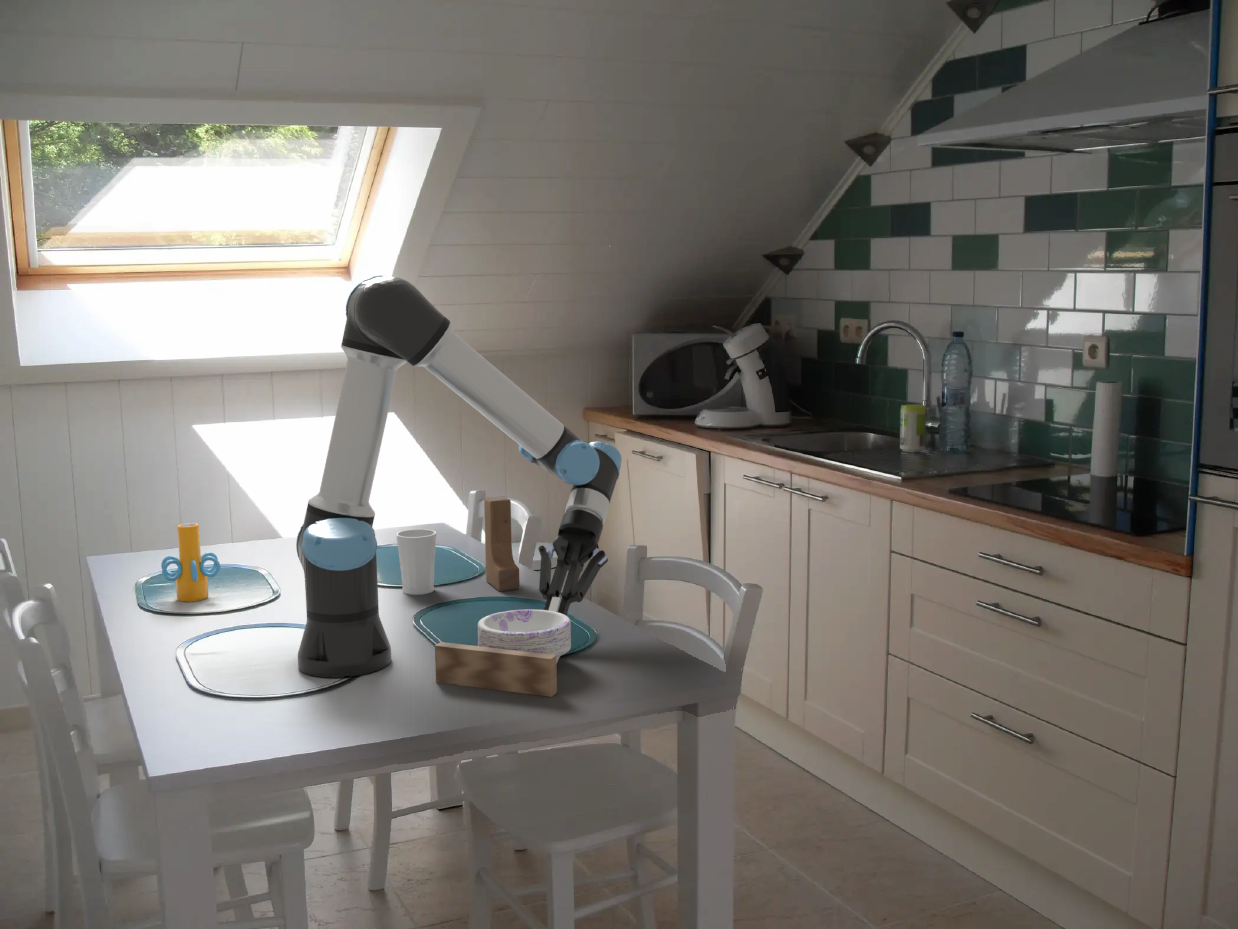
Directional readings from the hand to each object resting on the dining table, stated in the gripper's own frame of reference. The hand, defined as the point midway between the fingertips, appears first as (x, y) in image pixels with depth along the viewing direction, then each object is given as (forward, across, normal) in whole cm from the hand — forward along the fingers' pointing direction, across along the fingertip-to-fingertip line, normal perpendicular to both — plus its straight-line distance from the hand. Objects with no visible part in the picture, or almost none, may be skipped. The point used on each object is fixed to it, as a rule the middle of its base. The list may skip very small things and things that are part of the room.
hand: (548, 634), depth 204 cm
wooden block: (-23, +26, -28) cm, 45 cm away
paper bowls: (+8, 0, +4) cm, 9 cm away
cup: (-17, +41, -22) cm, 49 cm away
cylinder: (-3, +81, -8) cm, 82 cm away
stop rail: (+16, +1, +12) cm, 20 cm away
